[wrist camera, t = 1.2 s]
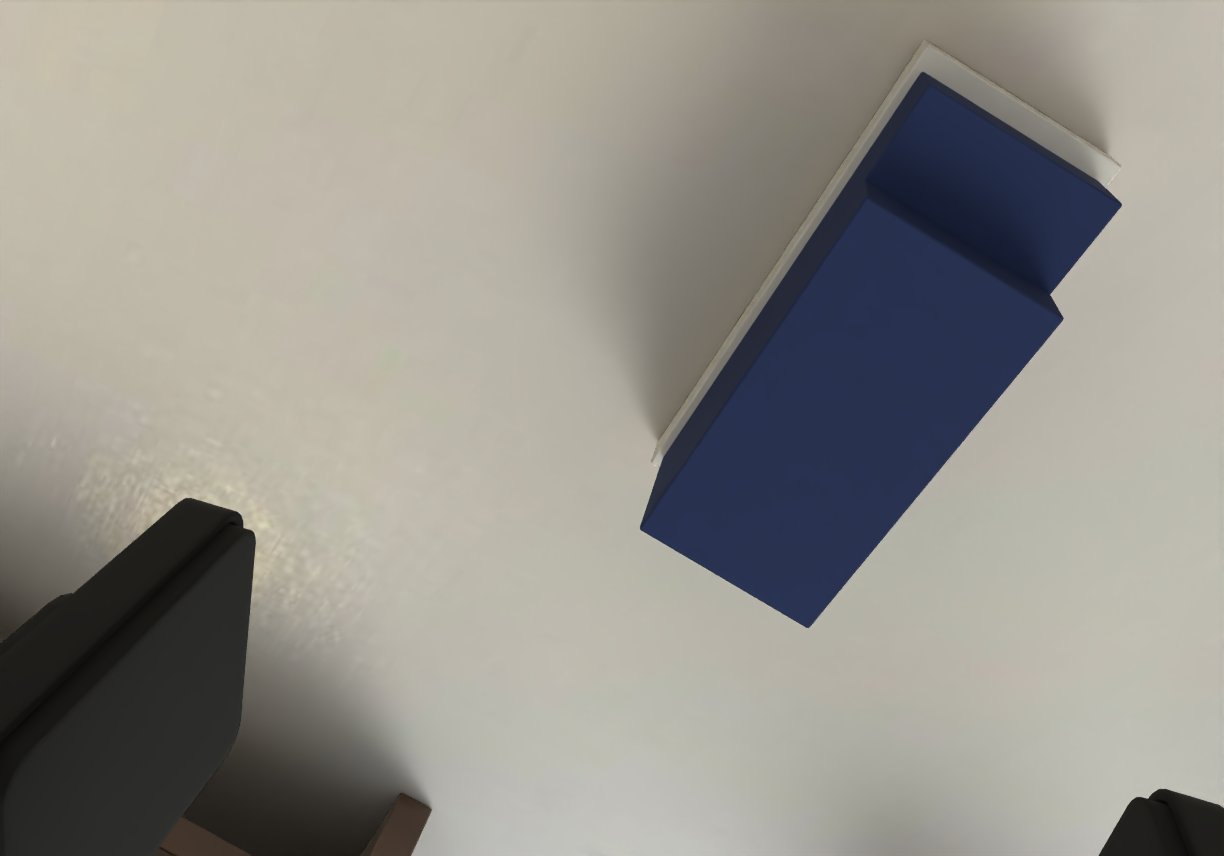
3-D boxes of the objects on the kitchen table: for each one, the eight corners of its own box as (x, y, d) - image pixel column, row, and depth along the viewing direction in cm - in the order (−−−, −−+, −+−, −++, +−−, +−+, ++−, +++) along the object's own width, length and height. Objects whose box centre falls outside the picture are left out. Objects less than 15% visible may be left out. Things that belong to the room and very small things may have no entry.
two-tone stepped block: (656, 443, 30) (624, 535, 25) (924, 39, 24) (943, 63, 20) (812, 536, 30) (808, 643, 26) (1111, 156, 25) (1171, 207, 20)
